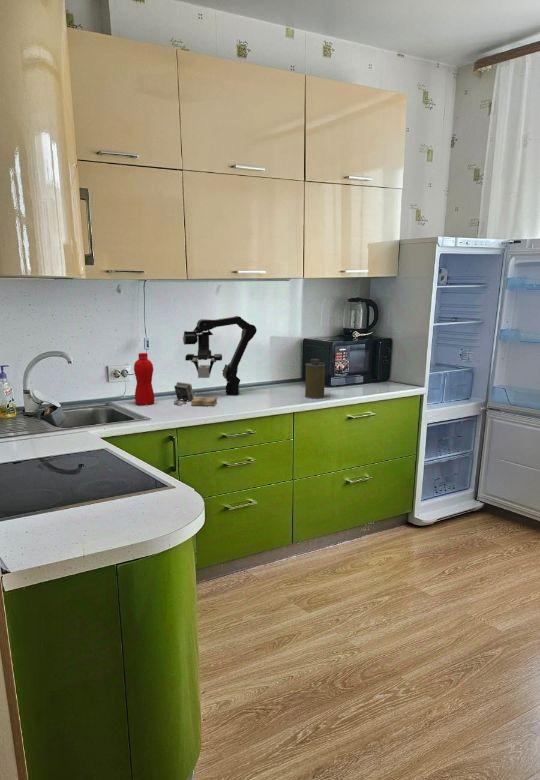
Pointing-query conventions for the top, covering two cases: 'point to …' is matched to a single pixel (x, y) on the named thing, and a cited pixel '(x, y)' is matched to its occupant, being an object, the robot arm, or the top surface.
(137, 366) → the water bottle
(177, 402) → the bolt
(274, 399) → the top surface
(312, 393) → the canister
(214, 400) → the stand
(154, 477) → the top surface
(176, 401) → the bolt
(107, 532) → the top surface
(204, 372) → the housing
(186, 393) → the electrical switch
